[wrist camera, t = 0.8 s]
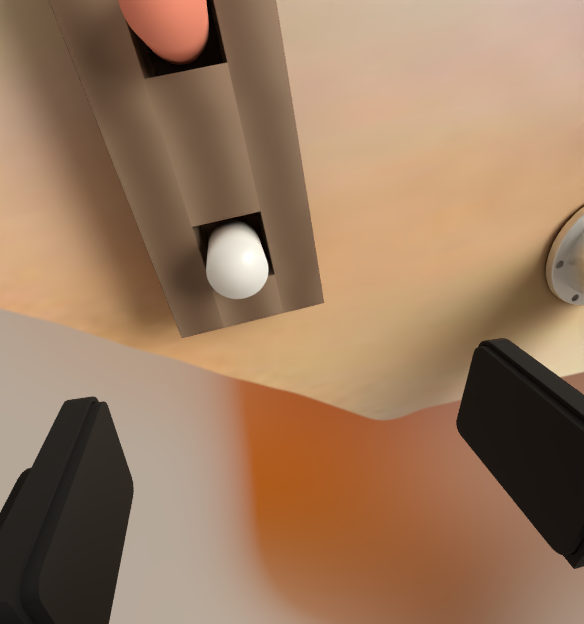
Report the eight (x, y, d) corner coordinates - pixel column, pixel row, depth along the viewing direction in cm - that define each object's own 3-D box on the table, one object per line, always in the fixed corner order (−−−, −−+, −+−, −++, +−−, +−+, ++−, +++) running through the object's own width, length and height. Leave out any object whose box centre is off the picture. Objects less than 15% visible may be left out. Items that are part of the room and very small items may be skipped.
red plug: (197, -26, 21) (191, -68, 16) (217, 57, 23) (216, 41, 18) (128, -13, 21) (100, -53, 16) (153, 70, 23) (136, 57, 18)
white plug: (253, 215, 28) (261, 234, 23) (265, 263, 30) (274, 291, 25) (201, 226, 28) (198, 249, 23) (216, 275, 30) (216, 305, 25)
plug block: (244, -94, 23) (251, -156, 18) (308, 276, 36) (324, 302, 31) (53, -61, 23) (3, -116, 17) (187, 305, 35) (181, 338, 30)
